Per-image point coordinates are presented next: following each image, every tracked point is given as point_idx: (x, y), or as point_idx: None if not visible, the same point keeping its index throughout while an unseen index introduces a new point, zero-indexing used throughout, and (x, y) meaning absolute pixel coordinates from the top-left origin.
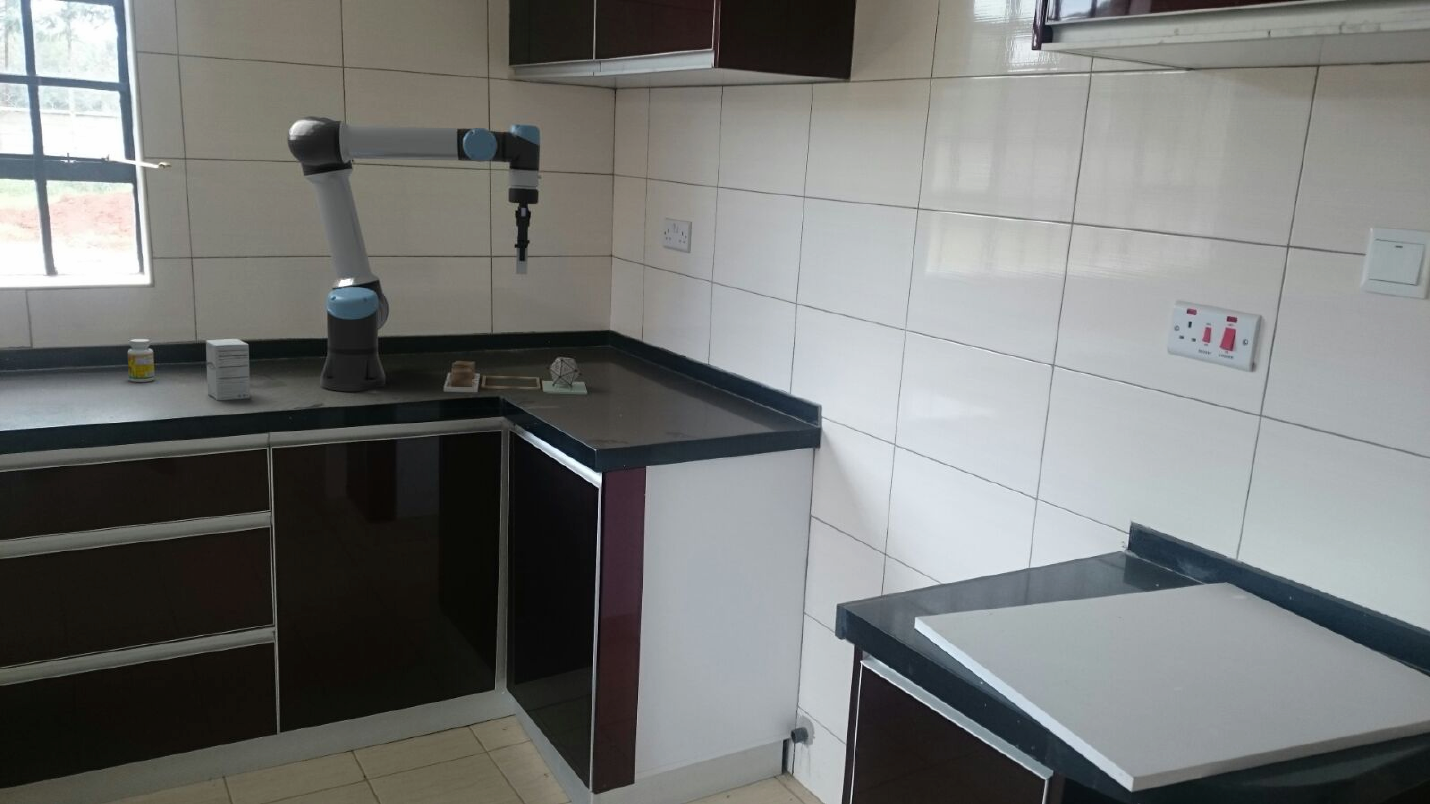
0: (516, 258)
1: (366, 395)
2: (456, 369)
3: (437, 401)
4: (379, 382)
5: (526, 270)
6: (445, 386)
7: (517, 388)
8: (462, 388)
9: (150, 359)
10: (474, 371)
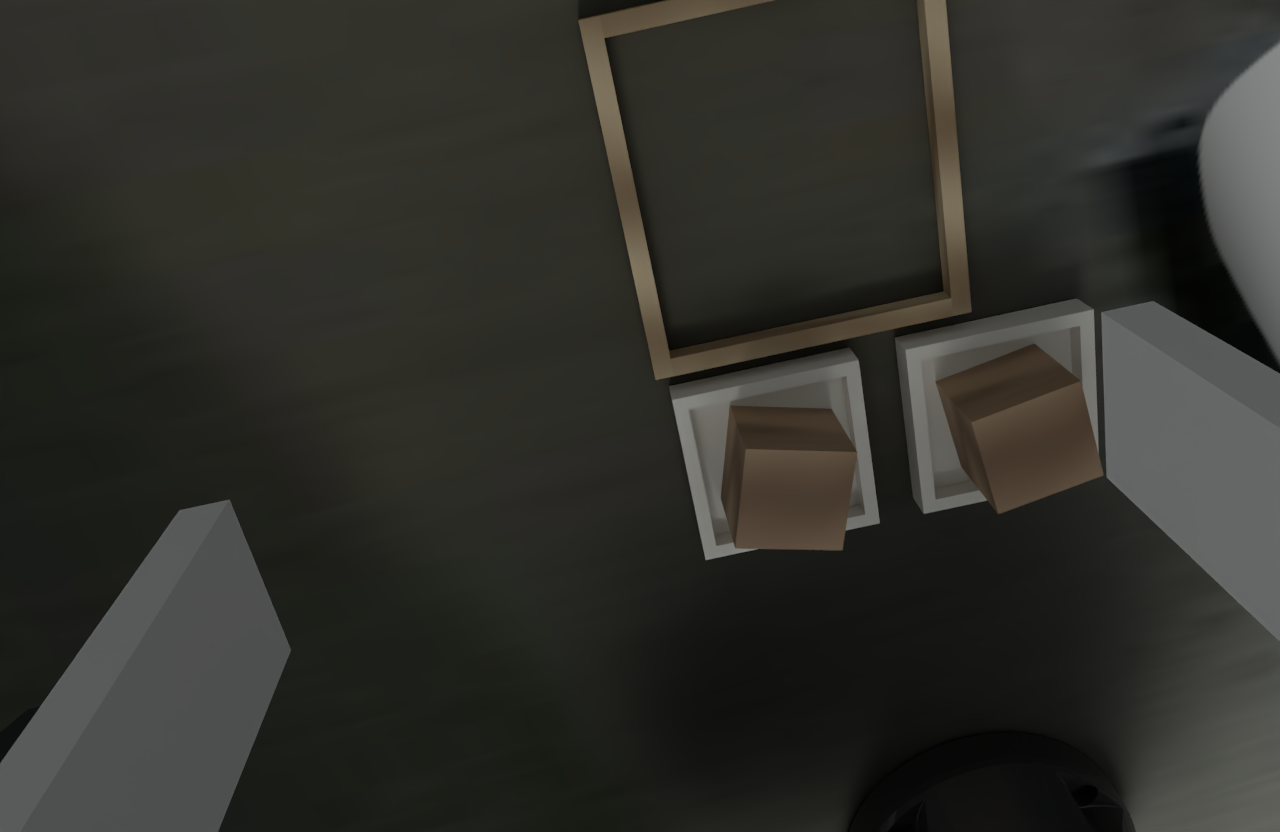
0: (226, 770)
1: (1169, 738)
2: (1014, 483)
3: None
4: (1053, 756)
5: (1195, 334)
6: None
7: (951, 97)
8: (1095, 384)
9: None
10: (740, 424)
